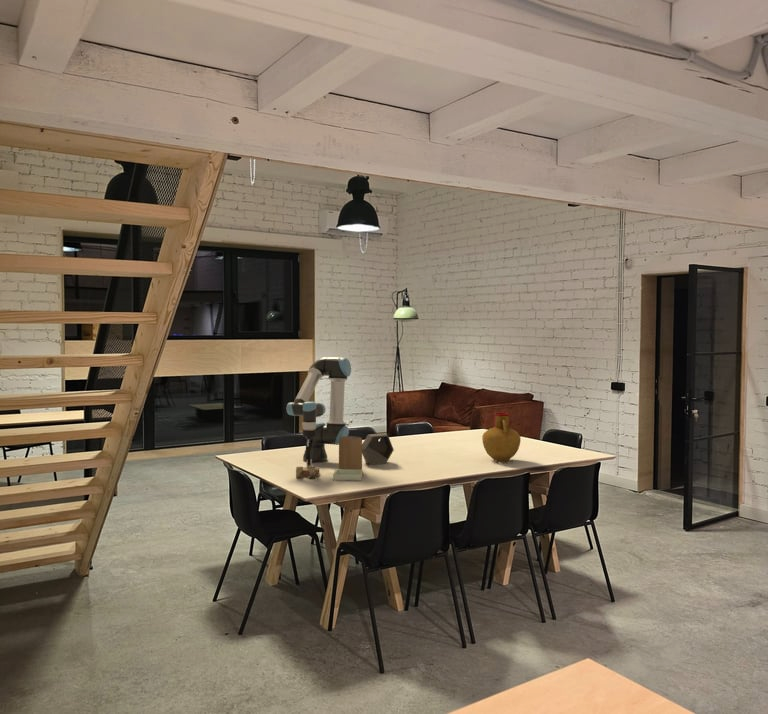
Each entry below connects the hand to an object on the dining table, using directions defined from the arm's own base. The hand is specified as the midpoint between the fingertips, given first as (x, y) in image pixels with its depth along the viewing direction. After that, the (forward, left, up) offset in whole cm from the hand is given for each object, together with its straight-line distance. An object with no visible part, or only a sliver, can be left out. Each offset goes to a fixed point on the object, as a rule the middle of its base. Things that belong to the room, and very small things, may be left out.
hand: (309, 470), depth 376 cm
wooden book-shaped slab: (+5, 0, -2) cm, 5 cm away
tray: (+9, +23, -2) cm, 25 cm away
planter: (-33, +37, -2) cm, 49 cm away
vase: (-47, +115, -2) cm, 124 cm away
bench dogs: (+12, 0, -2) cm, 13 cm away
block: (-6, +23, -2) cm, 24 cm away
